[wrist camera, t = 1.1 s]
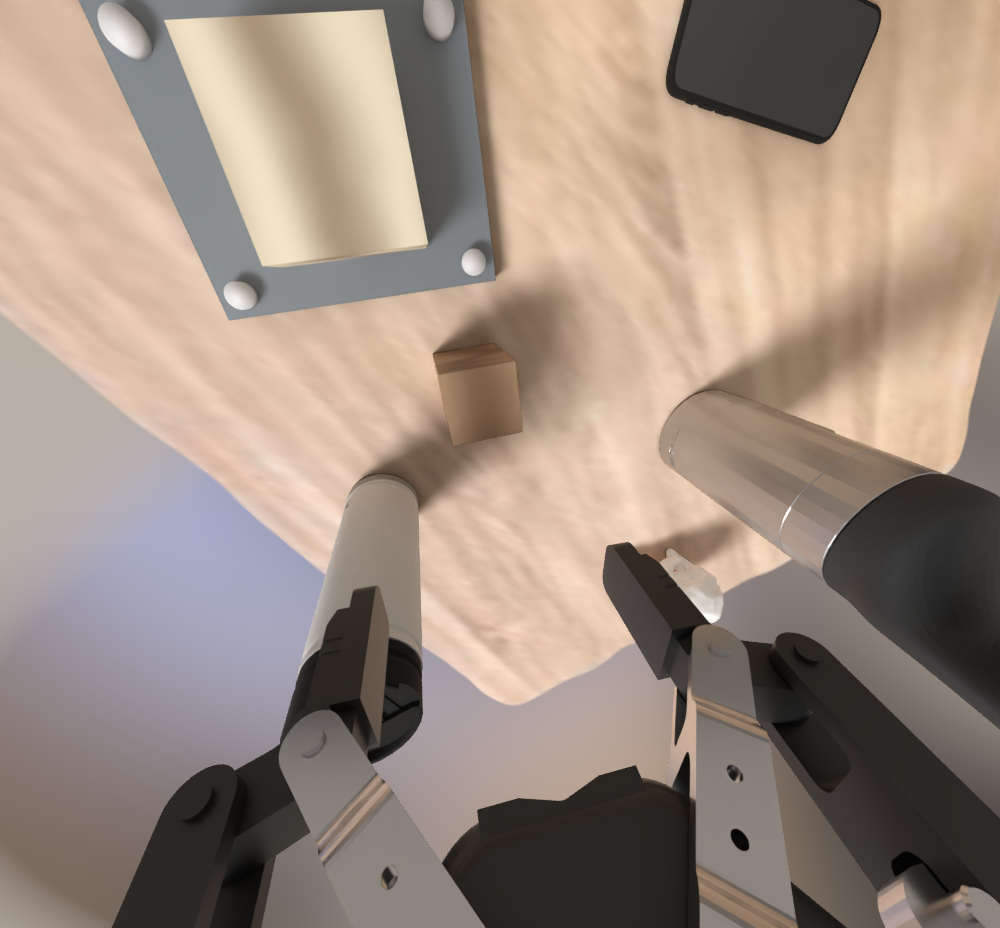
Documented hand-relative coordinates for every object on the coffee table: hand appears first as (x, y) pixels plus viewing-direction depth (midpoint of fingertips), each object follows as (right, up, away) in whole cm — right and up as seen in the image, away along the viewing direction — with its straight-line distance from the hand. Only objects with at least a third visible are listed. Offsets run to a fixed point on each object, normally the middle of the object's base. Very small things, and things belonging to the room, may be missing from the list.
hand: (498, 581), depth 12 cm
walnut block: (-3, +11, +17) cm, 21 cm away
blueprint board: (-10, +22, +10) cm, 26 cm away
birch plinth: (-10, +21, +9) cm, 25 cm away
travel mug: (-11, +1, +21) cm, 24 cm away
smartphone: (+18, +32, +12) cm, 39 cm away
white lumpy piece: (+18, -9, +34) cm, 39 cm away
